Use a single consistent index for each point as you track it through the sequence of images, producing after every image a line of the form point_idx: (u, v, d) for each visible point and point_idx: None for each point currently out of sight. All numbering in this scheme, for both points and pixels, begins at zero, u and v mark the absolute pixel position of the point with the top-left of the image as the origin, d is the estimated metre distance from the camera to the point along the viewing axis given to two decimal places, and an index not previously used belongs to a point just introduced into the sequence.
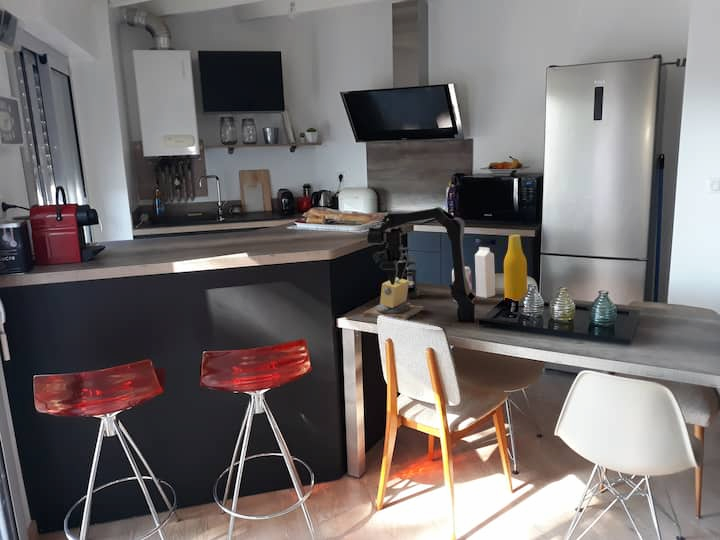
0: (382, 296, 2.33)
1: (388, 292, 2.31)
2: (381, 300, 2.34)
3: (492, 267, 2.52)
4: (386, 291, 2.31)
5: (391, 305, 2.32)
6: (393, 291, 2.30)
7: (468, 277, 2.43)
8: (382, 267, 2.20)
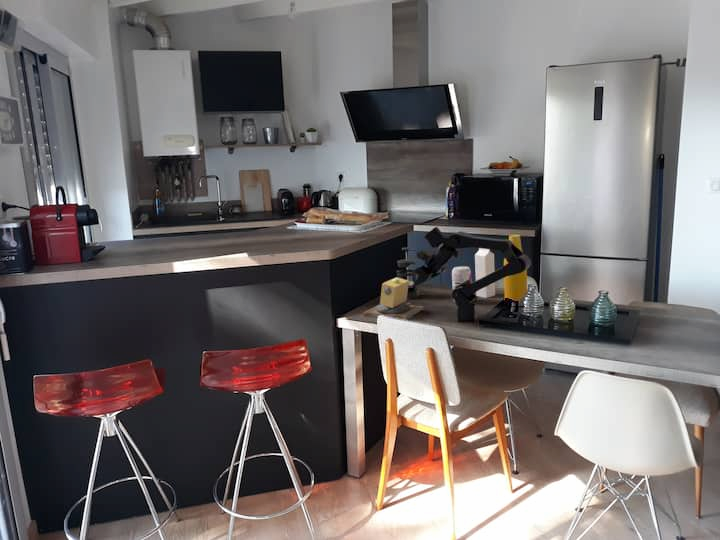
0: (382, 296, 2.33)
1: (388, 292, 2.31)
2: (381, 300, 2.34)
3: (492, 267, 2.52)
4: (386, 291, 2.31)
5: (391, 305, 2.32)
6: (393, 291, 2.30)
7: (468, 277, 2.43)
8: (416, 271, 2.18)
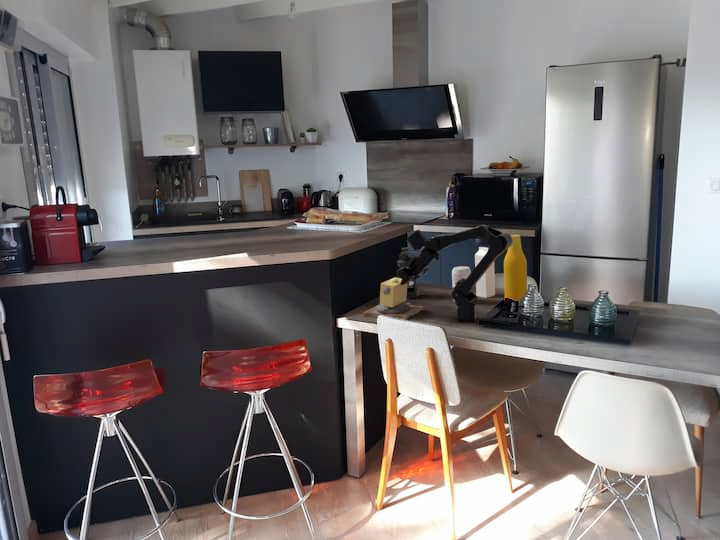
0: (381, 296, 2.33)
1: (387, 292, 2.31)
2: (381, 300, 2.34)
3: (492, 267, 2.52)
4: (385, 291, 2.31)
5: (391, 305, 2.32)
6: (392, 290, 2.30)
7: None
8: (398, 273, 2.23)
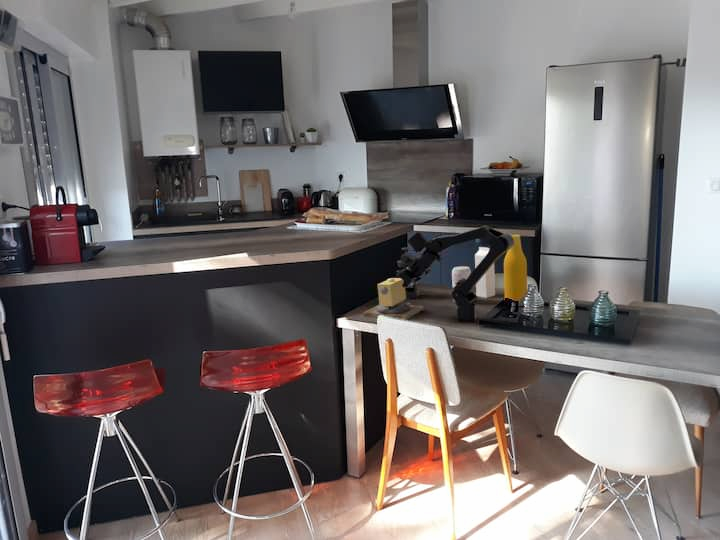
0: (380, 297, 2.34)
1: (385, 291, 2.31)
2: (380, 301, 2.34)
3: (492, 267, 2.52)
4: (383, 290, 2.32)
5: (390, 303, 2.32)
6: (389, 289, 2.31)
7: None
8: (400, 275, 2.23)
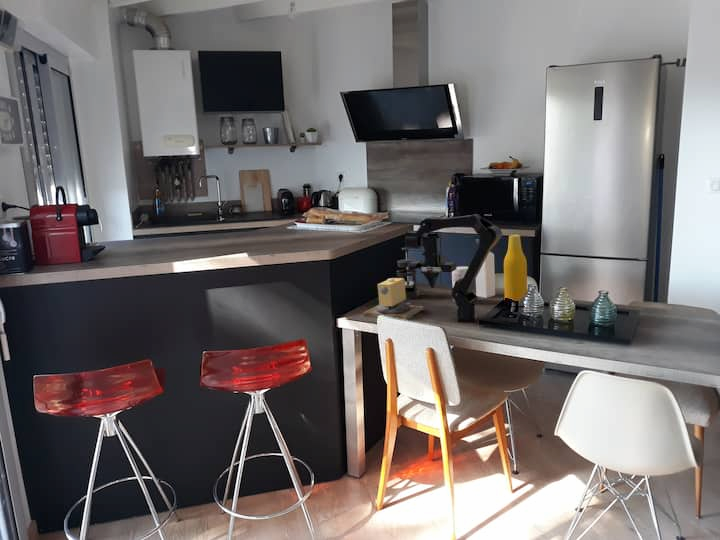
0: (380, 297, 2.34)
1: (385, 291, 2.31)
2: (380, 301, 2.34)
3: (492, 267, 2.52)
4: (383, 290, 2.32)
5: (390, 304, 2.32)
6: (389, 289, 2.31)
7: None
8: None
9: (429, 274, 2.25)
